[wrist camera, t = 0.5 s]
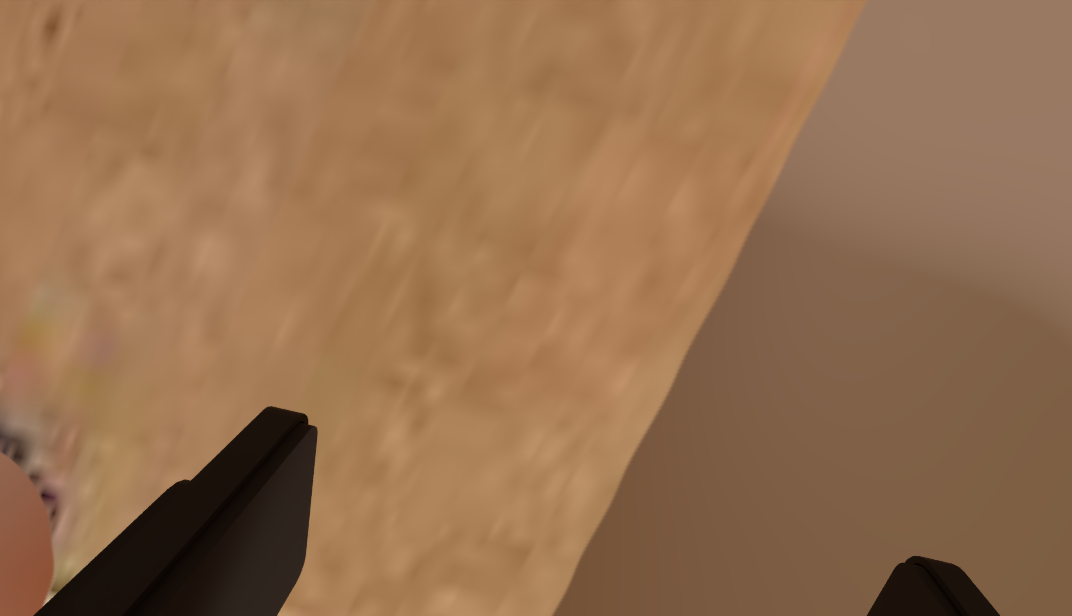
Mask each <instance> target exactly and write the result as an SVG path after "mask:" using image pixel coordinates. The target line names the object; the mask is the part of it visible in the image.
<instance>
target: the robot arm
mask: <svg viewBox="0 0 1072 616" xmlns="http://www.w3.org/2000/svg"><path fill="white" fill-rule="evenodd" d="M316 444H317V427H315V426H312V425H308V418H307V416H306V415H305V414H303V413H298V412H294V411H290V410H285V409H281V408H277V407H272V406H270V407H267V408H265V409H264V410H263V411H262V412H261V413H260V414H259V415H258V416H257V417H256V418H255V419H254V420H253V421H251V422H250V423H249V424H248V425H247V426H246V427H245V428H244V429H243V430H242V431H241V432H240V433H239V434H238V435H237V436H236V437H235V438H234V439H233V440H232V441H231V442H230V443H229V444H228V445H227V446H226V447H225V448H224V449H223V450H222V451H221V452H220V453H219V454H218V455H217V456H216V457H215V458H214V459H213V460H212V461H211V462H210V463H208V464H207V465H206V466H205V467H204V468H203V469H202V470H201V471H200V472H199V473H198V474H197V475H196V476H195V477H194V478H193V479H192V480H191V481H189V480H182V481H179V482H177V483H175V484H174V485H173V486H171V487H170V488H169V489H167V490H166V491H165V492H164V493H163V494H162V495H161V496H160V497H159V498H158V499H157V500H156V501H155V502H153V503H152V504H151V505H150V506H149V507H148V508H147V509H146V510H145V511H144V512H143V513H142V514H141V515H140V516H139V517H138V518H136V519H135V520H134V521H133V522H132V523H131V524H130V525H129V526H128V527H127V528H126V529H125V530H124V531H123V532H122V533H121V534H120V535H118V536H117V537H116V538H115V539H114V540H113V541H112V542H111V543H110V544H109V545H108V546H107V547H106V548H105V549H104V550H103V551H101V552H100V553H99V554H98V555H97V556H96V557H95V558H94V559H93V560H92V561H91V562H90V563H89V564H88V565H87V566H86V567H84V568H83V569H82V570H81V571H80V572H79V573H78V574H77V575H76V576H75V577H74V578H73V579H72V580H71V581H70V582H69V583H68V584H66V585H65V586H64V587H63V588H62V589H61V590H60V591H59V592H58V593H57V594H56V595H55V596H54V597H53V598H52V599H51V600H49V601H48V602H47V603H46V604H45V605H44V606H43V607H42V608H41V609H40V610H39V611H38V612H37V613H36V614H35V615H34V616H277V614H278V613H279V611H280V609H281V608H282V606H283V604H284V603H285V601H286V599H287V597H288V596H289V594H290V592H291V591H292V589H293V587H294V586H295V584H296V582H297V580H298V578H299V576H300V574H301V571H302V568H303V565H304V562H305V557H306V547H307V537H308V527H309V517H310V506H311V496H312V486H313V475H314V465H315V455H316ZM867 616H1000V615H999V614H998V612H997V611H996V610H995V609H994V608H993V606H992V605H991V604H990V603H989V601H988V600H987V599H986V598H985V597H984V595H983V594H982V593H981V592H980V590H979V589H978V588H977V587H976V586H975V584H974V583H973V582H972V581H971V579H970V578H969V577H968V576H967V575H966V574H965V572H964V571H963V570H962V569H960V568H959V567H958V566H956V565H954V564H951V563H947V562H942V561H938V560H934V559H929V558H925V557H920V556H912V557H911V558H909V559H907V560H906V562H905V563H900V564H898V565H897V566H896V567H895V569H894V570H893V572H892V574H891V575H890V577H889V579H888V580H887V582H886V584H885V586H884V587H883V589H882V591H881V592H880V594H879V596H878V597H877V599H876V601H875V603H874V604H873V606H872V608H871V610H870V611H869V613H868V615H867Z"/></svg>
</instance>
